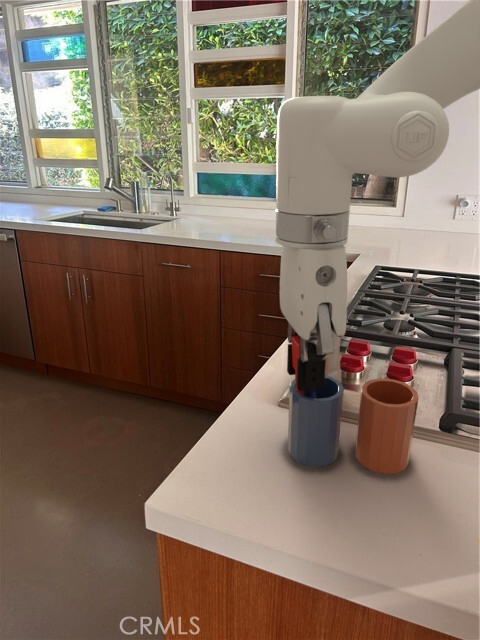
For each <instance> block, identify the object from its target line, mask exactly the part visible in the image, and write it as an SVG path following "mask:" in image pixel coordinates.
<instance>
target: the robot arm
mask: <svg viewBox="0 0 480 640" xmlns="http://www.w3.org/2000/svg"><path fill="white" fill-rule="evenodd" d="M478 90H480V0H466V1H465V2H464V3H463V4H462V5H460V6H459V7H458V8H457V9H455V10H454V12H452V13H451V14H449V16H448V17H447V18H445V20H443V21H442V22H441V23H440V24H438V25H437V26H436V27H435V28H433V30H432V31H430V32H429V33H428V34H426V36H424V37H423V38H421V40H419V41H418V42H417V43H416V44H414V45H413V46H412V47H410V49H408V50H407V51H406V52H405V53H404V54H402V56H400V57H399V58H398V59H397V60H395V61H394V62H393V63H392V64H391V65H390V66H389V67H388V68H387V69H385V71H384V72H383V73H382V74H380V75H379V76H378V77H377V78H376V79H375V80H374V81H373V82H371V84H370V85H369V86H368V87H367V88H365V89H364V90H363V92H361V93H360V94H359V95H358V96H357V97H356V98H348V97H346V96H339V95H307V96H306V95H305V96H297V97H292V98H289V99H287V100H284V102H283V103H281V105H280V107H279V108H278V113H277V121H276V123H277V124H276V131H277V132H276V183H275V185H276V186H275V187H276V194H275V199H276V200H275V243H277V244H279V245H280V246H281V253H280V254H281V256H280V270H279V271H280V272H279V309H280V311H281V313H282V315H283V317H284V318H285V319H286V321H287V342H288V344H287V359H286V360H287V361H286V372H287V374H288V375H289V376H295V372H296V371H295V369H294V368H293V366H292V341H291V337H292V336H298V337H299V338H300V339H301V341H300V357H301V358H297V381H296V387H297V389H298V390H299V391H304V390H313V389H321V388H323V387H324V379H325V363H326V359H327V354H333V351H334V349H333V340H332V332H333V333H334V334H335V335H336V336H338V337H341V338H343V337H344V336H345V335H346V331H347V318H348V264H347V252H346V251H347V250H346V247H345V245H347V243H348V241H349V240H348V238H349V237H348V236H349V226H350V209H351V197H352V185H353V175H354V174H359V175H361V174H362V175H371V176H379V177H386V178H406V177H410V176H415V175H418V174H419V173H421V172H424V171H426V170H427V169H428V168H430V167H431V166H433V164H435V163H436V162H437V161H438V159H439V158H440V157H441V156H442V154H443V153H444V151H445V150H446V149H445V148H446V146H447V144H448V141H449V136H450V123H449V118H448V115H447V114H446V112H445V109H446V108H448V107H450V105H452V104H454V103H455V102H457V101H459V100H460V99H462V98H464V97H466V96H468V95H470V94H471V93H473V92H476V91H478ZM313 330H316V332H313ZM331 331H332V332H331ZM313 340H317V344H315V343H314V342H308V341H313Z"/></svg>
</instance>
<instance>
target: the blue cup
mask: <svg viewBox="0 0 480 640" xmlns="http://www.w3.org/2000/svg"><path fill="white" fill-rule="evenodd" d="M288 391H289V393H288V422H287V423H288V424H287V425H288V427H287V430H288V431H287V452H288V455H289V456H290V457H291V458H292V459H293V460H294V461H295V462H296V463H298V464H301V465H302V466H305V467H306V466H307V467H310V468H311V467H312V468H322V467H326V466H329V465H331V464H333V463H334V462H335V461H336V460H337V458H338V456H339V449H340V438H341V426H342V425H341V424H342V413H343V400H344V386H343V384H342V382H341V383H340V382H339V381H338V380H336V379H334V378H332V377H329V376H326V375H325V379H324V387H323V388H321V389H316V391H315V394H316V398H310V397H308V392H307V390H304V396H303V395H301V394H300V393H299V392H297V391H296V384H295V378H293V379H292V380H291V381H290V382H289V390H288Z"/></svg>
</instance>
